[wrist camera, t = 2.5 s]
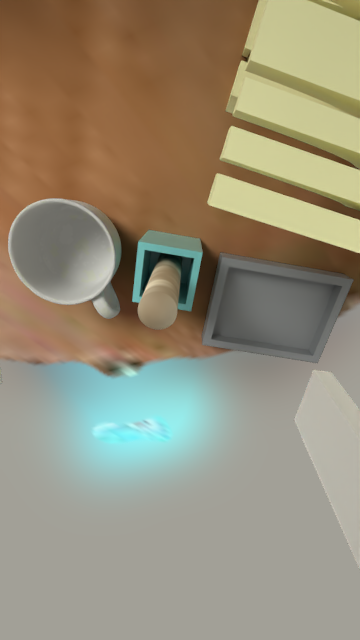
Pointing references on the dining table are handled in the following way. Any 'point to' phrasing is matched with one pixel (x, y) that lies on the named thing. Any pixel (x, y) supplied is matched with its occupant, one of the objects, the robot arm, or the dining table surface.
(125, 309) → the dining table surface
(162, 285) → the dowel
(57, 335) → the dining table surface
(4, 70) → the dining table surface
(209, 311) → the tray
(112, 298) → the teacup
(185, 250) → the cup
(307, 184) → the slatted curved stool
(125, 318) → the dining table surface
